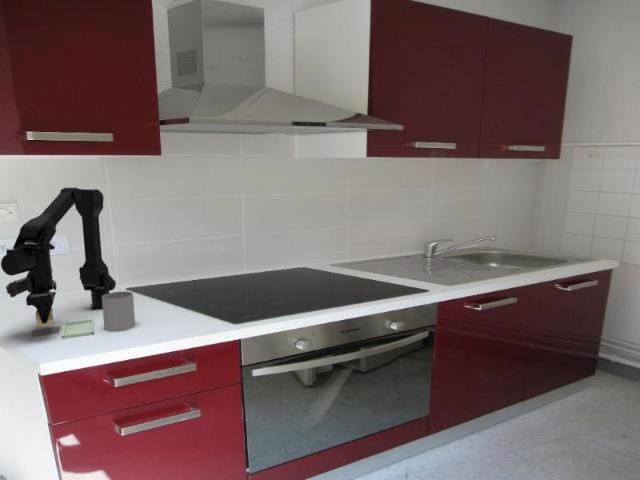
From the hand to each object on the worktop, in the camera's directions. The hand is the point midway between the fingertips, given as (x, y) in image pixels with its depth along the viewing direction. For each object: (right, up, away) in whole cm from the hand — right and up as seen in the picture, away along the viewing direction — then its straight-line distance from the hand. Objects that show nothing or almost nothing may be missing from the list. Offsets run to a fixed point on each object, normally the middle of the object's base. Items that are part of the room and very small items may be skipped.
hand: (45, 321), depth 143 cm
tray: (+9, -3, +2) cm, 10 cm away
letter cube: (0, -1, 0) cm, 1 cm away
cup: (+20, -3, +4) cm, 20 cm away
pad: (0, -3, 0) cm, 4 cm away
